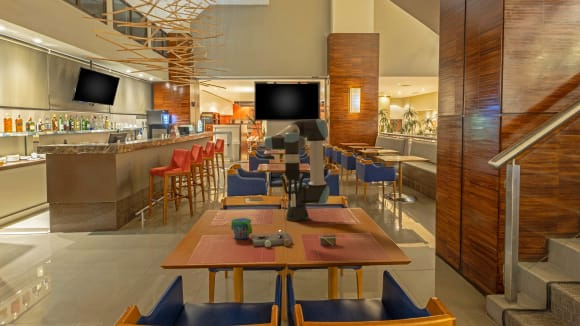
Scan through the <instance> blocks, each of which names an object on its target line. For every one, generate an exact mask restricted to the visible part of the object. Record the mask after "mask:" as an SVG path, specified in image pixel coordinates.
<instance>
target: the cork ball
mask: <svg viewBox="0 0 580 326" xmlns="http://www.w3.org/2000/svg"><path fill="white" fill-rule="evenodd" d="M290 245H292V244H291V241H290V240H289V239H286V240H285V241H284V246H285V247H289V246H290Z"/></svg>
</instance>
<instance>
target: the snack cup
mask: <svg viewBox="0 0 580 326" xmlns="http://www.w3.org/2000/svg"><path fill="white" fill-rule="evenodd" d="M230 223H231V225H230V228H231V230H232V231H233V235H234V239H236V240H247V239H249V236H250V235H252V233H253V228H252V224H251V223H252V219H251V218H249V217H248V218H246V217H239V218H234V219H232V220H231V222H230Z"/></svg>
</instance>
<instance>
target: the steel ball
mask: <svg viewBox="0 0 580 326" xmlns="http://www.w3.org/2000/svg"><path fill="white" fill-rule="evenodd" d="M284 233H285V232H284V230H282V229H279V230H278V231H277V232H276V234H277V235H278V236H279V237H282V236H283V235H284Z"/></svg>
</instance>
